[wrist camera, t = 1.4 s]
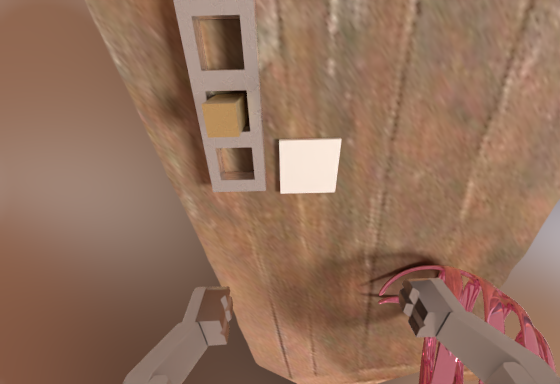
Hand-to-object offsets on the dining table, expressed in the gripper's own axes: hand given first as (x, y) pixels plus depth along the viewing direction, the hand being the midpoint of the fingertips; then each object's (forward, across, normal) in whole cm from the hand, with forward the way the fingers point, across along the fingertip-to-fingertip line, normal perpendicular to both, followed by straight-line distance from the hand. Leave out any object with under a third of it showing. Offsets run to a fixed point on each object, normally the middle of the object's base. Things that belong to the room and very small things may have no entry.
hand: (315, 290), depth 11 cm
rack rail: (+29, +8, -4) cm, 31 cm away
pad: (+29, -4, +7) cm, 30 cm away
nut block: (+29, +8, -4) cm, 31 cm away
